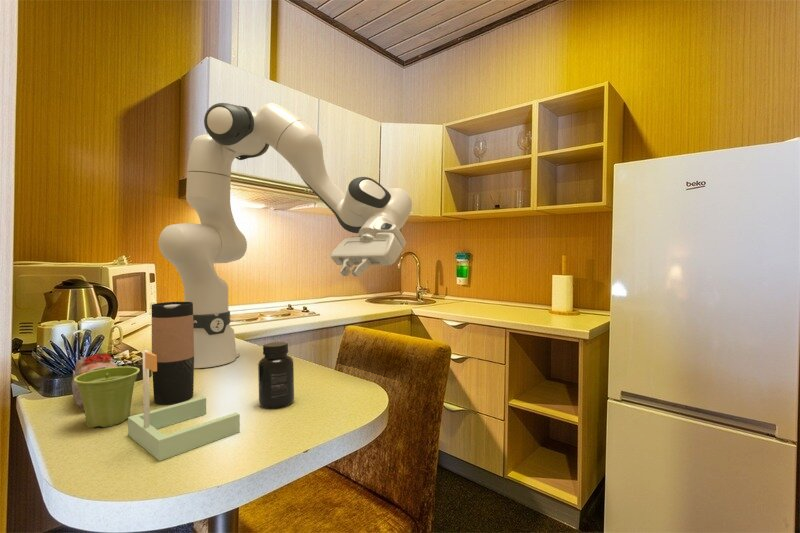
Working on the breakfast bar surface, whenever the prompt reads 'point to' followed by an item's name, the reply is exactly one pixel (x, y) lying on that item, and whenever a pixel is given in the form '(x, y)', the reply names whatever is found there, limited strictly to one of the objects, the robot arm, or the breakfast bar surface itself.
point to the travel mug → (173, 352)
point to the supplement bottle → (276, 376)
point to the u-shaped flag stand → (181, 441)
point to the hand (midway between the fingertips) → (349, 274)
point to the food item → (86, 366)
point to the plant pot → (107, 394)
